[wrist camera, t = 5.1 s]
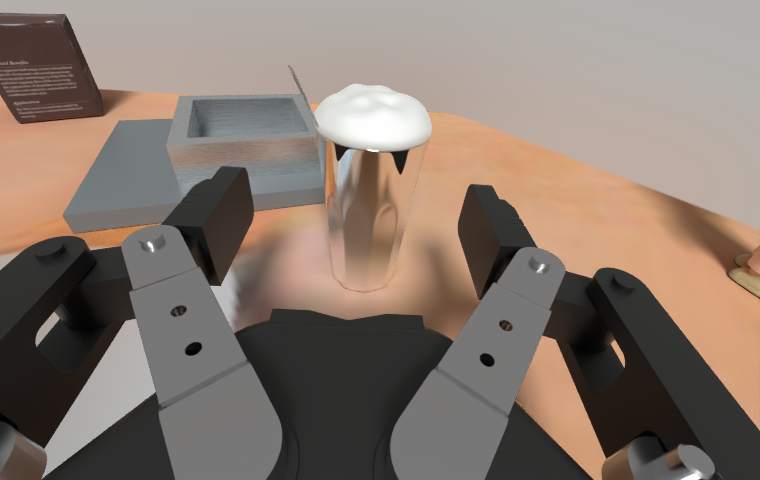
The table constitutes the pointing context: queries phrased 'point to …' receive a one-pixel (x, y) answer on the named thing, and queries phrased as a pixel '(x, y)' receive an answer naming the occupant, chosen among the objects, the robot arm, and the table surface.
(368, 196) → the milkshake
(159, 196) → the dock
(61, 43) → the box
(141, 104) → the table surface
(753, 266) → the grandmother figurine
